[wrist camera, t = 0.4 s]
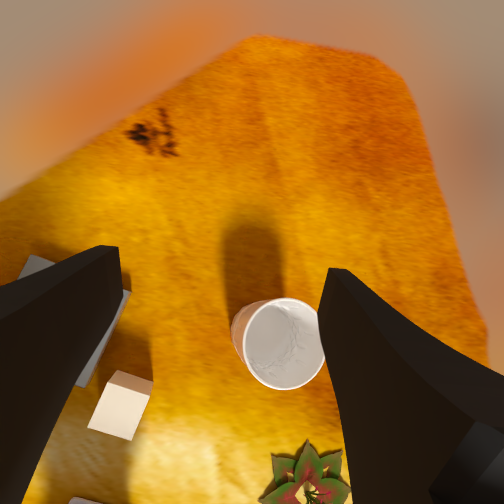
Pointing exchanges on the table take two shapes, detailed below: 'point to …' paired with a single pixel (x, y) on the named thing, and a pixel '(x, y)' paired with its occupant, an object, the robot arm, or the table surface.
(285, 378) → the white cup
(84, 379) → the slate tile
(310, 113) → the table surface
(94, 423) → the cream block
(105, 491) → the table surface
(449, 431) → the robot arm
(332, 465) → the lily flower
